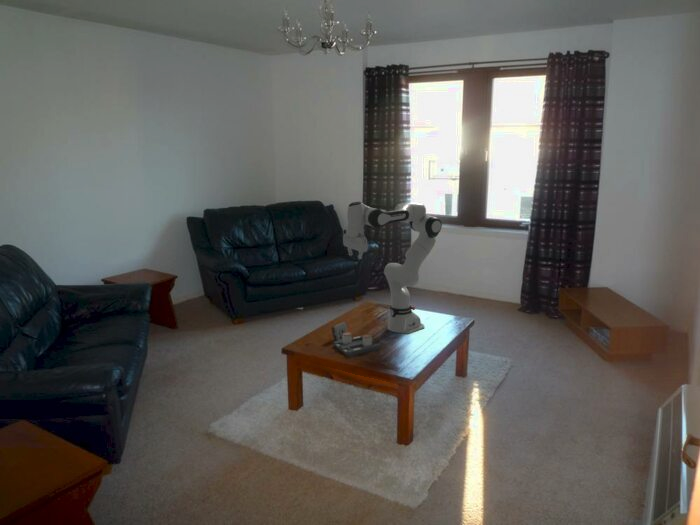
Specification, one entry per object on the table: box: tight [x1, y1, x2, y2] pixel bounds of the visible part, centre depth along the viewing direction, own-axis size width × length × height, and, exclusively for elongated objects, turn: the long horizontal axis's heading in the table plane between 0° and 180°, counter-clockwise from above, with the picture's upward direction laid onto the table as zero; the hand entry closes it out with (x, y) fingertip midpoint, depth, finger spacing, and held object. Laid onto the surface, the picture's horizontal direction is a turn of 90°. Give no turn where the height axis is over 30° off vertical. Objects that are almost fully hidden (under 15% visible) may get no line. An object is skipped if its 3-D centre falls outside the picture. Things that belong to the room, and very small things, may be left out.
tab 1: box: [342, 331, 353, 344], centre depth 280 cm, size 4×3×6 cm
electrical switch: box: [330, 321, 348, 342], centre depth 291 cm, size 9×5×9 cm, turn 141°
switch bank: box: [333, 335, 382, 357], centre depth 280 cm, size 20×16×3 cm
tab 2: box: [361, 334, 373, 347], centre depth 277 cm, size 4×3×6 cm
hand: (355, 257), depth 281 cm, fingers open, 8 cm apart
